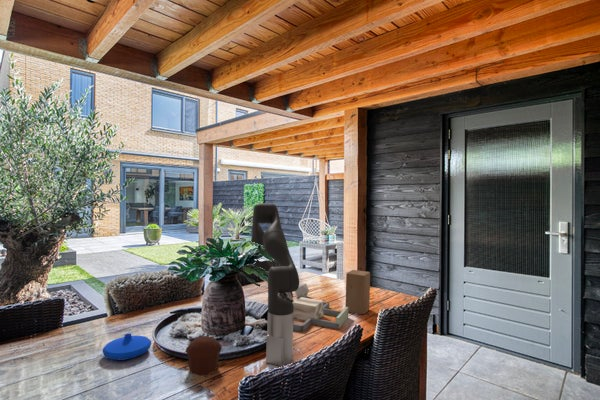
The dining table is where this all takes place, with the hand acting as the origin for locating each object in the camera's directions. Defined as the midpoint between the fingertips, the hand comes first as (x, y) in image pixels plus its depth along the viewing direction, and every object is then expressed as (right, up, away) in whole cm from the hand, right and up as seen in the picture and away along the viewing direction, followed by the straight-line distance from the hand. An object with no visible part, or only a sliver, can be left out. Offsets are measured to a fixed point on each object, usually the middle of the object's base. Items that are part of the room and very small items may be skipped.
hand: (295, 307), depth 165 cm
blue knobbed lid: (-60, -3, -45) cm, 75 cm away
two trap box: (+11, -4, -4) cm, 12 cm away
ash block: (+6, -4, -2) cm, 8 cm away
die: (+3, -4, +29) cm, 30 cm away
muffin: (-30, -4, -53) cm, 61 cm away
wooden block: (+32, -5, +8) cm, 34 cm away
